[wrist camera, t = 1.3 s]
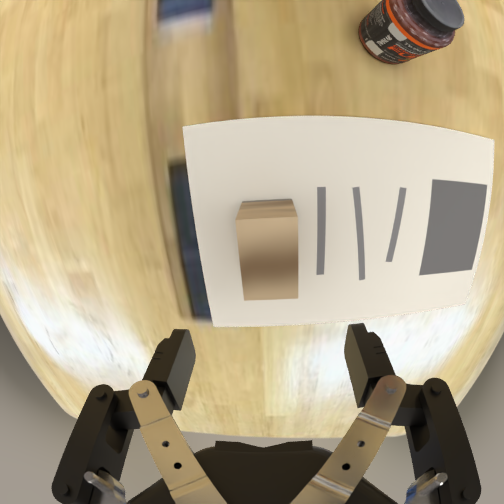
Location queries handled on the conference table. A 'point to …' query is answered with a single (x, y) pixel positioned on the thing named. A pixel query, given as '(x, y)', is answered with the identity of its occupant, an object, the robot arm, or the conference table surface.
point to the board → (343, 213)
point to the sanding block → (268, 249)
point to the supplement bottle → (409, 28)
